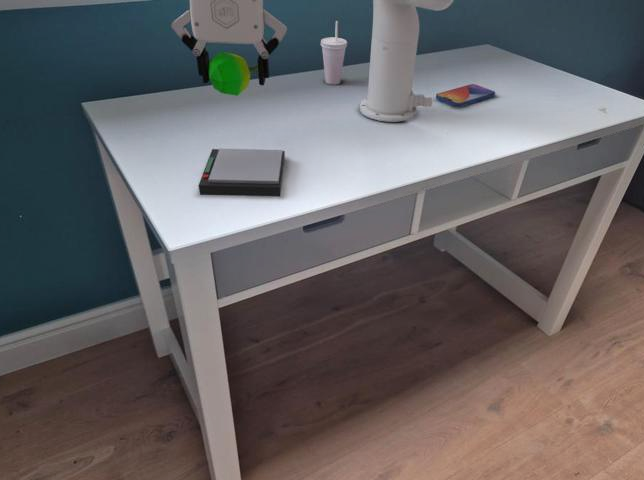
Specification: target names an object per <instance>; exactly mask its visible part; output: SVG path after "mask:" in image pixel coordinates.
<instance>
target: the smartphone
mask: <svg viewBox="0 0 644 480" xmlns="http://www.w3.org/2000/svg"><path fill="white" fill-rule="evenodd" d="M495 95H496V91H495V90H492V89H489V88H487V87H485V86H484V87H483V86H481V85H478V84H475V83H469V84H466V85H463V86H460V87H456V88H453V89H449V90H445V91H442V92H438V93H436V94H435V99H436V100H437V101H440V102H442V103H445V104H448V105H451V106H453V107H458V108H460V107H464V106H467V105H471V104H474V103H477V102H480V101H483V100H486V99H489V98H493V97H495Z"/></svg>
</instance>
